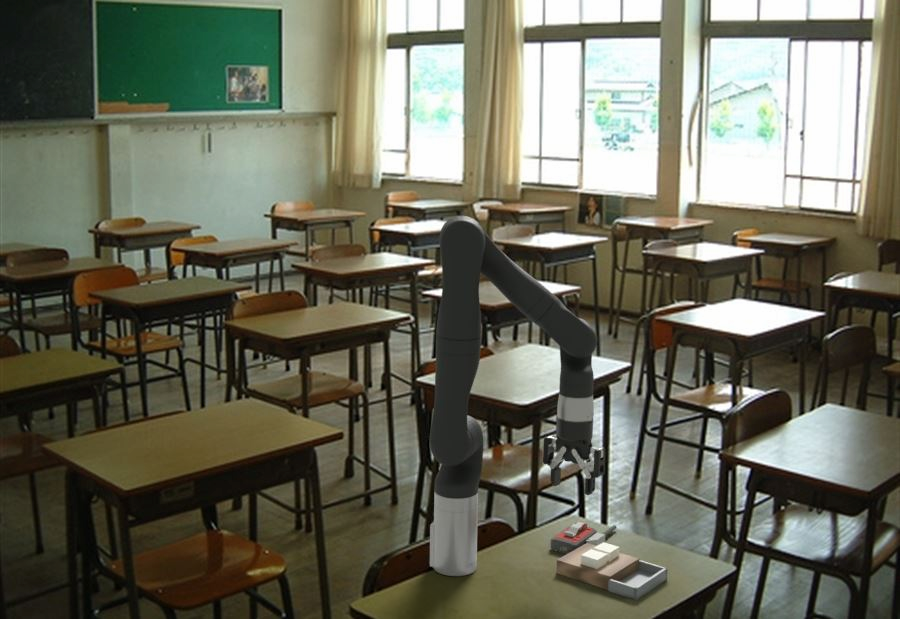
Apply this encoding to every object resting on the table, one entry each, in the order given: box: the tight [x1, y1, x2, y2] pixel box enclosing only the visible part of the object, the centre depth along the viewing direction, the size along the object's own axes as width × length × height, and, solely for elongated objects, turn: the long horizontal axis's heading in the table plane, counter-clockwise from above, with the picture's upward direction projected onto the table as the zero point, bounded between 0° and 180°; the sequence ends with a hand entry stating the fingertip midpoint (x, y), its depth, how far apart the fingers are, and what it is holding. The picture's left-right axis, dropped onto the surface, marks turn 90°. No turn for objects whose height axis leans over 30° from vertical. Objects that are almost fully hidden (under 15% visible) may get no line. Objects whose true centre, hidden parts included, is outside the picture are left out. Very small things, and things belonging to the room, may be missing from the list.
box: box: [607, 559, 668, 601], centre depth 235 cm, size 6×13×2 cm, turn 141°
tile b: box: [594, 542, 620, 562], centre depth 242 cm, size 4×4×2 cm
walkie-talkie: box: [550, 521, 617, 554], centre depth 258 cm, size 9×4×20 cm
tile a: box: [581, 549, 607, 569], centre depth 238 cm, size 4×4×2 cm
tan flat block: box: [556, 543, 640, 591], centre depth 241 cm, size 13×12×3 cm
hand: (572, 489), depth 239 cm, fingers open, 7 cm apart
